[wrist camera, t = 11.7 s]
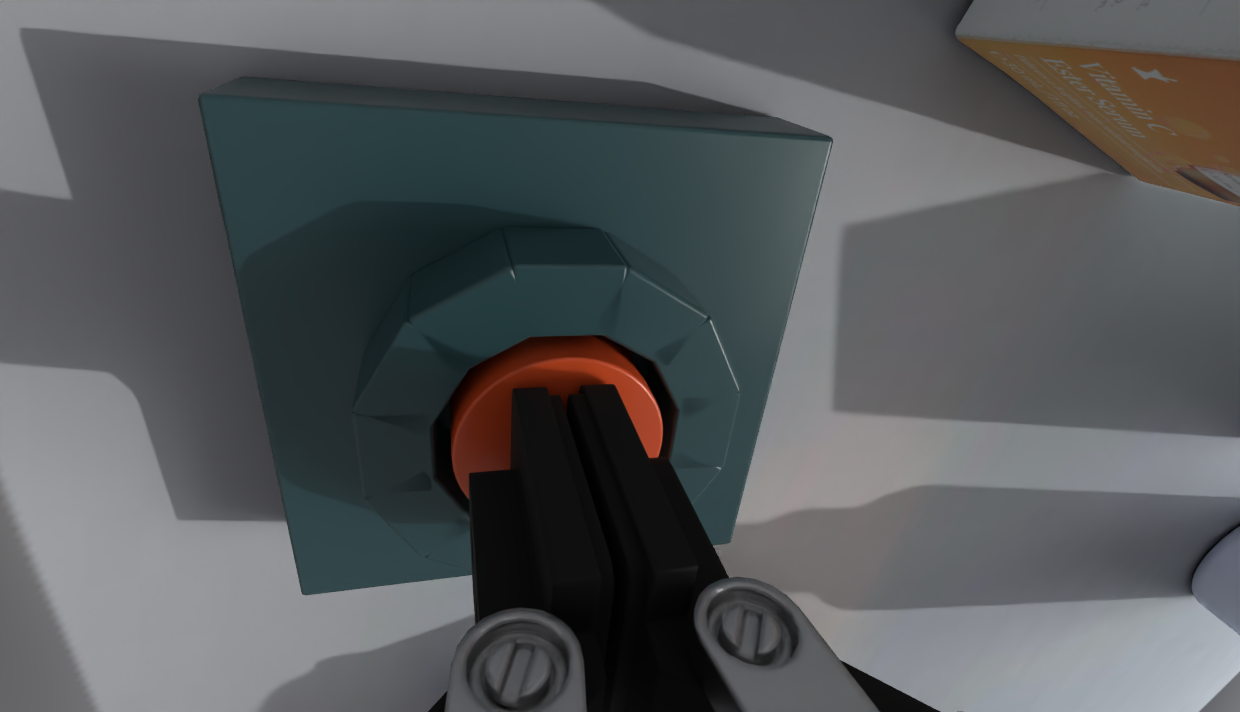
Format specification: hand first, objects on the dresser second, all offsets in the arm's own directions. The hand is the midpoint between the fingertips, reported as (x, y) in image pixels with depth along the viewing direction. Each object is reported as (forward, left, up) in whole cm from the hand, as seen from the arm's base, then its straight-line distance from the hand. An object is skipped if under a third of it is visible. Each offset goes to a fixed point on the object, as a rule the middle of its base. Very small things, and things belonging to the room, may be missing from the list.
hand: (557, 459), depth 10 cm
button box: (0, 0, -4) cm, 4 cm away
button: (0, 0, -2) cm, 2 cm away
